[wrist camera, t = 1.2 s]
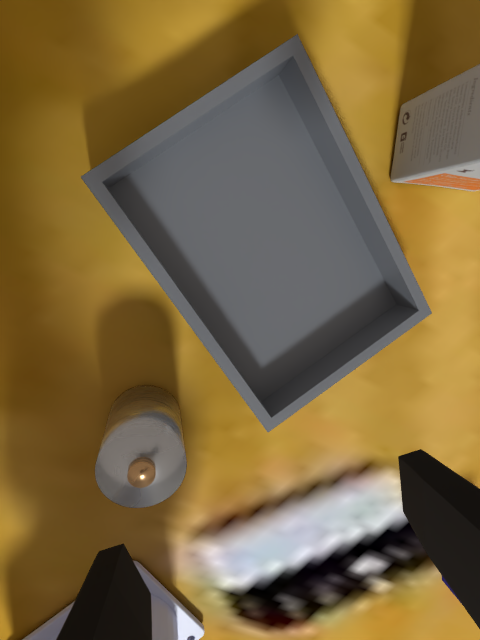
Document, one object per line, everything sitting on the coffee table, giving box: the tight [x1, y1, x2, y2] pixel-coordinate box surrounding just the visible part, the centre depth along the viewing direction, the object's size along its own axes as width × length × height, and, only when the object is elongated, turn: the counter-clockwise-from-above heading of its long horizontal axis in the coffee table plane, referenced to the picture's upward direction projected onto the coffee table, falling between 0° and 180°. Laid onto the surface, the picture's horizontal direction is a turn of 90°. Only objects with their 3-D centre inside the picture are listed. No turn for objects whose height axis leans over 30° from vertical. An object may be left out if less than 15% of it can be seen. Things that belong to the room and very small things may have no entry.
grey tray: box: [81, 34, 432, 432], centre depth 19 cm, size 11×15×3 cm
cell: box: [95, 385, 187, 508], centre depth 19 cm, size 4×4×6 cm
